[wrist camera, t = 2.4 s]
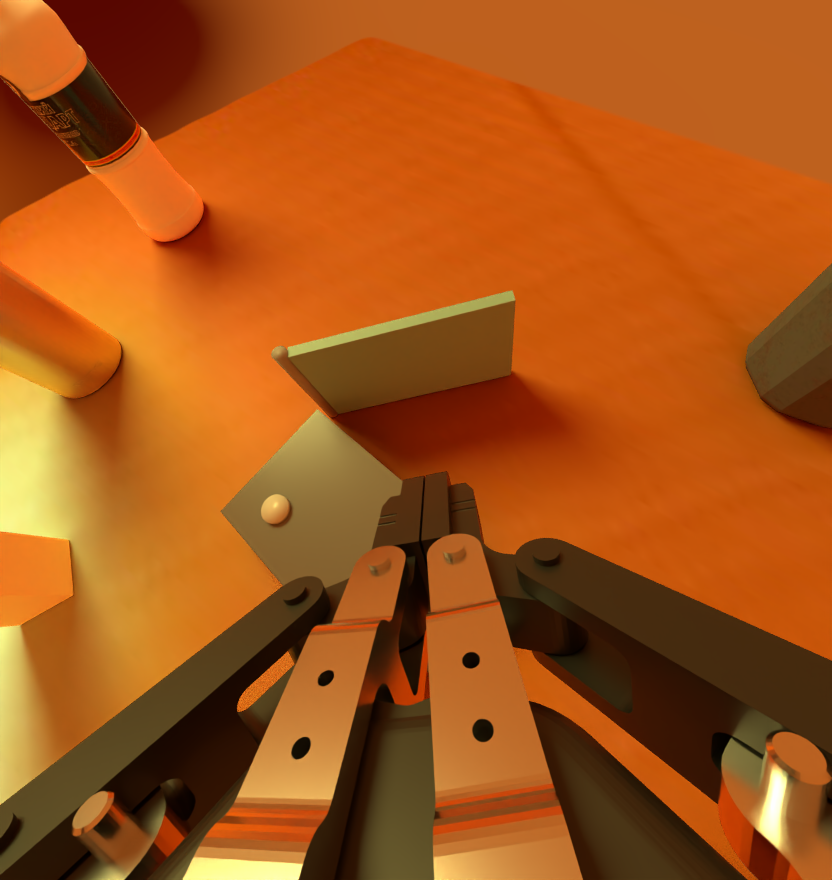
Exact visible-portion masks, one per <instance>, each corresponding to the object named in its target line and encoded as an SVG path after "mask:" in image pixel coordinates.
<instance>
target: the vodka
mask: <svg viewBox="0 0 832 880" xmlns="http://www.w3.org/2000/svg"><path fill="white" fill-rule="evenodd" d="M0 77H1V78H2V79H3V80H4V81H5V82H6V83H7V84H8V85H9V87H10V88H11V89H12V90H13V91H14V92H15V93H16V94H17V95H18V96H19V97H20V98H21V99H22V100H23V101H24V102H25V103H26V104H27V105H28V106H29V107H30V108H31V109H32V110H33V111H34V112H35V113H36V114H37V115H38V116H39V117H40V118H41V119H42V121H43V122H44V123H45V124H46V125H47V126H48V127H49V128H50V129H51V130H52V131H53V132H54V133H55V134H56V135H57V136H58V137H59V138H60V139H61V140H62V141H63V142H64V143H65V144H66V145H67V146H68V147H69V148H70V150H71V151H73V153H74V154H75V155H76V156H77V157H78V158H79V159H80V160H81V161H82V162H83V163H84V164H85V165H86V167H87V169H88V170H89V172H90V173H92V174H94V175H95V176H96V177H97V178H98V179H99V180H100V181H101V182H102V183H103V184H104V185H105V186H106V187H107V188H108V189H109V190H110V191H111V192H112V193H113V194H114V195H115V196H116V197H117V199H118V200H119V201H120V202H121V203H122V204H123V205H124V206H125V207H126V209H127V210H128V211H129V213H130V214H131V215H132V216H133V218H134V219H135V221H136V222H137V224H138V226H139V227H140V228H141V229H142V230H143V231H144V232H145V233H146V234H147V236H149V237H150V238H152V239H154V240H156V241H160V242H167V241H174V240H177V239H180V238H182V237H184V236H185V235H187V234H189V233H190V232H191V231H192V230H193V229H194V228H195V227H196V226H197V225H198V223H199V222H200V220H201V218H202V215H203V211H204V206H203V202H202V199H201V197H200V196H199V195H198V193H197V192H196V191H195V190H194V188H193V187H192V186H191V185H189V184H188V183H187V182H186V181H185V180H184V179H183V178H182V177H181V176H180V175H179V174H178V173H177V172H176V171H175V170H174V169H173V168H172V166H171V165H170V164H169V163H168V161H167V160H166V159H165V158H164V156H163V155H162V154H161V153H160V151H159V150H158V149H157V147H156V146H155V145H154V143H153V142H152V140H151V139H150V138H149V136H148V133H147V132H146V131H145V130H144V129H143V128H142V127H140V126H139V124H138V123H137V122H136V121H135V119H134V118H133V117H132V115H131V114H130V113H129V112H128V110H127V109H126V108H125V106H124V105H123V104H122V103H121V101H120V100H119V99H118V97H117V96H116V95H115V93H114V92H113V91H112V89H111V88H110V87H109V86H108V85H107V83H106V82H105V80H104V79H103V78H102V76H101V75H100V74H99V73H98V71H97V70H96V69H95V67H94V66H93V65H92V63H91V62H90V61H89V60H88V58H87V57H86V54H85V52H84V50H83V49H82V47H81V46H79V45H77V43H76V42H75V40H74V39H73V37H72V36H71V34H70V33H69V31H68V30H67V28H66V27H65V25H64V24H63V22H62V21H61V20H60V18H59V17H58V16H57V14H56V13H55V12H54V11H53V10H52V9H51V8H49V6H48V5H46V4H45V3H44V2H43V1H42V0H0Z"/></svg>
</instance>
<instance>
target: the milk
mask: <svg viewBox="0 0 832 880" xmlns="http://www.w3.org/2000/svg"><path fill="white" fill-rule="evenodd" d="M73 595H74V593H73V581H72V570H71V558H70V546H69V540H67V539H59V538H50V537H42V536H34V535H25V534H17V533H9V532H0V627H6V626H19V625H22V624H23V623H25V622H27V621H29V620H30V619H32V618H34V617H36V616H37V615H39V614H41V613H43V612H45V611H46V610H48V609H50V608H52V607H53V606H55V605H57V604H59V603H60V602H62V601H64V600H66V599H68V598H69V597H71V596H73Z"/></svg>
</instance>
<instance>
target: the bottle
mask: <svg viewBox="0 0 832 880" xmlns="http://www.w3.org/2000/svg"><path fill="white" fill-rule="evenodd" d="M746 369H747V371H748V373H749V375H750V377H751V379H752V381H753V383H754V385H755V387H756V389H757V392H758V394H759V396H760V398H761V399H762V400H763V401H765V402H766V403H767V404H768V405H770V406H771V407H772V408H773V409H775V410H776V411H777V412H780V413H783V414H786V415H789V416H791V417H794V418H797V419H800V420H803V421H806V422H809V423H812V424H815V425H818V426H821V427H827V428H832V264H831V265H830V266H829V267H828V268H827V269H826V270H825V271H823V272H822V273H821V274H820V275H819V276H818V277H817V278H816V279H815V280H814V281H813V282H812V283H811V284H810V285H809V286H808V287H807V288H806V289H805V290H804V291H803V292H802V293H801V294H800V295H799V296H798V297H797V298H796V299H795V300H794V301H793V302H792V303H791V304H790V305H789V306H788V307H787V308H786V309H785V310H784V311H783V312H782V313H781V314H780V315H779V316H778V317H777V318H776V319H775V320H774V321H773V322H772V323H771V324H770V325H769V326H768V327H767V328H766V329H765V330H764V331H763V332H762V333H761V334H759V335H758V336H757V337H756V338H755V339H754V340H753V341H752V342H751V343H750V344H749V345H748V350H747V356H746Z"/></svg>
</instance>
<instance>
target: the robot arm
mask: <svg viewBox="0 0 832 880" xmlns="http://www.w3.org/2000/svg"><path fill="white" fill-rule="evenodd" d="M120 359H121V345H120V343H119V341H118V340H117V339H116V338H115V337H113V336H112V335H110V334H109V333H107V332H106V331H104V330H103V329H101V328H100V327H98V326H97V325H95V324H94V323H92V322H90V321H89V320H87V319H86V318H85V317H83V316H82V315H80V314H79V313H77V312H76V311H74V310H73V309H71V308H70V307H68V306H67V305H65V304H63V303H62V302H60V301H59V300H57V299H56V298H54V297H53V296H51V295H50V294H48V293H47V292H45V291H44V290H42V289H41V288H39V287H38V286H36V285H35V284H33V283H32V282H30V281H29V280H27V279H26V278H24V277H23V276H21V275H20V274H18V273H17V272H15V271H14V270H12V269H11V268H9V267H8V266H6V265H5V264H3V263H2V262H0V368H3V369H5V370H7V371H9V372H11V373H14V374H16V375H18V376H20V377H22V378H25V379H27V380H29V381H31V382H33V383H35V384H38V385H40V386H42V387H44V388H47V389H49V390H51V391H53V392H55V393H58V394H60V395H62V396H64V397H68V398H81V397H84V396H87V395H89V394H91V393H93V392H95V391H96V390H98V389H99V388H100V387H102V386H103V385H104V384H105V383H106V382H107V381H108V380H109V379H110V378H111V376H112V375H113V374H114V372H115V370H116V369H117V367H118V365H119V362H120ZM428 612H430V613H428ZM513 647H516V648H521V649H527V650H532V653H533V655H534V657H535V658H536V659H537V661H538V662H539V663H540V664H542V665H543V666H544V667H545V668H547V669H548V670H549V671H550V672H552V673H553V674H554V675H555V676H557V677H558V678H559V679H560V680H562V681H563V682H564V683H565V684H567V685H568V686H569V687H571V688H572V689H573V690H574V691H576V692H577V693H578V694H579V695H581V696H582V697H583V698H584V699H586V700H587V701H588V702H589V703H591V704H592V705H593V706H594V707H596V708H597V709H598V710H600V711H601V712H602V713H603V714H605V715H606V716H607V717H608V718H610V719H611V720H612V721H613V722H615V723H616V724H617V725H618V726H620V727H621V728H622V729H624V730H625V731H626V732H627V733H629V734H630V735H631V736H632V737H634V738H635V739H636V740H637V741H639V742H640V743H641V744H642V745H644V746H645V747H646V748H647V749H649V750H650V751H651V752H653V753H654V754H655V755H656V756H658V757H659V758H660V759H661V760H663V761H664V762H665V763H666V764H668V765H669V766H670V767H671V768H673V769H674V770H675V771H677V772H678V773H679V774H680V775H682V776H683V777H684V778H685V779H687V780H688V781H689V782H690V783H692V784H693V785H694V786H695V787H697V788H698V789H699V790H700V791H702V792H703V793H704V794H706V795H707V796H708V797H709V798H711V799H712V800H713V801H714V802H716V803H717V804H718V811H719V818H720V822H721V826H722V828H723V831H724V833H725V836H726V838H727V840H728V841H729V843H730V845H731V847H732V849H733V850H734V852H735V853H736V855H737V856H738V858H739V859H740V860H741V861H742V863H743V864H744V865H745V866H746V867H747V869H748V870H749V871H750V872H751V873H752V874H753V875H754V876H755V877H756V878H757V879H758V880H832V661H831V660H829V659H827V658H824V657H822V656H820V655H818V654H815V653H813V652H811V651H809V650H806V649H804V648H802V647H800V646H797V645H795V644H793V643H791V642H788V641H786V640H784V639H782V638H780V637H777V636H775V635H773V634H771V633H768V632H766V631H764V630H762V629H759V628H757V627H755V626H753V625H750V624H748V623H746V622H744V621H741V620H739V619H737V618H735V617H733V616H730V615H728V614H726V613H724V612H721V611H719V610H717V609H715V608H712V607H710V606H708V605H706V604H703V603H701V602H699V601H697V600H695V599H692V598H690V597H688V596H686V595H683V594H681V593H679V592H677V591H674V590H672V589H670V588H668V587H665V586H663V585H661V584H659V583H656V582H654V581H652V580H650V579H648V578H645V577H643V576H641V575H639V574H636V573H634V572H632V571H630V570H627V569H625V568H623V567H621V566H618V565H616V564H614V563H612V562H609V561H607V560H605V559H603V558H601V557H598V556H596V555H594V554H592V553H589V552H587V551H585V550H583V549H580V548H578V547H576V546H574V545H571V544H569V543H567V542H565V541H562V540H558V539H553V538H540V539H535V540H532V541H529V542H527V543H525V544H524V545H522V546H521V547H520V548H519V549H518V550H517V552H516V554H515V555H513V554H503V553H499V552H496V551H493V550H491V549H489V548H488V547H487V546H486V545H485V544H484V540H483V534H482V528H481V524H480V519H479V515H478V510H477V505H476V501H475V496H474V492H473V489H472V488H471V487H470V486H469V485H467V484H466V483H461V484H455V485H451V483H450V479H449V475H448V472H447V471H446V472H441V473H435V474H430V475H426V477H425V476H420V477H415V478H410V479H405V480H403V482H402V488H401V493H400V495H398V496H393V497H390V498H389V499H388V500H387V502H386V503H385V504H384V505H383V506H382V510H381V514H380V518H379V522H378V526H377V530H376V534H375V538H374V542H373V545H372V549H371V550H370V551H368V552H367V553H365V554H364V555H363V556H361V557H360V558H359V559H358V561H357V562H356V564H355V566H354V568H353V571H352V573H351V576H350V578H348V579H346V580H344V581H342V582H339V583H337V584H334V585H332V586H329V587H327V588H325V587H324V585H323V582H322V581H321V580H320V579H319V578H317V577H314V576H304V577H300V578H297V579H295V580H292V581H290V582H289V583H287V584H285V585H284V586H283V587H281V588H280V589H279V590H277V591H276V592H275V593H273V594H272V595H271V596H270V597H268V598H267V599H266V600H264V601H263V602H262V603H261V604H259V605H258V606H257V607H255V608H254V609H253V610H251V611H250V612H249V613H248V614H246V615H245V616H244V617H242V618H241V619H240V620H239V621H237V622H236V623H235V624H233V625H232V626H231V627H230V628H228V629H227V630H226V631H224V632H223V633H222V634H221V635H219V636H218V637H217V638H215V639H214V640H213V641H211V642H210V643H209V644H208V645H206V646H205V647H204V648H202V649H201V650H200V651H199V652H197V653H196V654H195V655H193V656H192V657H191V658H190V659H188V660H187V661H186V662H184V663H183V664H182V665H181V666H179V667H178V668H177V669H175V670H174V671H173V672H171V673H170V674H169V675H168V676H166V677H165V678H164V679H162V680H161V681H160V682H159V683H157V684H156V685H155V686H153V687H152V688H151V689H150V690H148V691H147V692H146V693H144V694H143V695H142V696H140V697H139V698H138V699H137V700H135V701H134V702H133V703H131V704H130V705H129V706H128V707H126V708H125V709H124V710H122V711H121V712H120V713H119V714H117V715H116V716H115V717H113V718H112V719H111V720H110V721H108V722H107V723H106V724H104V725H103V726H102V727H100V728H99V729H98V730H97V731H95V732H94V733H93V734H91V735H90V736H89V737H88V738H86V739H85V740H84V741H82V742H81V743H80V744H79V745H77V746H76V747H75V748H73V749H72V750H71V751H70V752H68V753H67V754H66V755H64V756H63V757H62V758H60V759H59V760H58V761H57V762H55V763H54V764H53V765H51V766H50V767H49V768H48V769H46V770H45V771H44V772H42V773H41V774H40V775H39V776H37V777H36V778H35V779H33V780H32V781H31V782H29V783H28V784H27V785H26V786H24V787H23V788H22V789H20V790H19V791H18V792H17V793H15V794H14V795H13V796H11V797H10V798H9V799H8V800H6V801H5V802H4V803H2V804H1V805H0V880H747V879H746V878H745V877H744V876H743V875H742V874H741V873H739V872H738V871H737V870H736V869H735V868H734V867H733V866H732V865H731V864H730V863H729V862H727V861H726V860H725V859H724V858H723V857H722V856H721V855H720V854H719V853H718V852H717V851H716V850H714V849H713V848H712V847H711V846H710V845H709V844H708V843H707V842H706V841H705V840H704V839H702V838H701V837H700V836H699V835H698V834H697V833H696V832H695V831H694V830H693V829H692V828H691V827H689V826H688V825H687V824H686V823H685V822H684V821H683V820H682V819H681V818H680V817H679V816H677V815H676V814H675V813H674V812H673V811H672V810H671V809H670V808H669V807H668V806H667V805H666V804H664V803H663V802H662V801H661V800H660V799H659V798H658V797H657V796H656V795H655V794H654V793H652V792H651V791H650V790H649V789H648V788H647V787H646V786H645V785H644V784H643V783H642V782H641V781H639V780H638V779H637V778H636V777H635V776H634V775H633V774H632V773H631V772H630V771H629V770H627V769H626V768H625V767H624V766H623V765H622V764H621V763H620V762H619V761H618V760H617V759H616V758H614V757H613V756H612V755H611V754H610V753H609V752H608V751H607V750H606V749H605V748H604V747H602V746H601V745H600V744H599V743H598V742H597V741H596V740H595V739H594V738H593V737H592V736H591V735H589V734H588V733H587V732H586V731H585V730H584V729H582V728H581V727H580V726H578V725H577V724H576V723H574V722H573V721H572V720H570V719H569V718H567V717H565V716H564V715H562V714H560V713H558V712H557V711H555V710H553V709H550V708H548V707H546V706H543V705H541V704H538V703H534V702H531V701H528V697H527V694H526V691H525V687H524V684H523V680H522V677H521V674H520V670H519V667H518V663H517V660H516V657H515V653H514V650H513ZM287 651H288V652H289V654H290V656H291V658H292V660H293V662H294V663H295V665H294V666H293V667H292V668H290V669H289V670H288V671H287V672H286V673H285V674H284V675H283V676H282V677H281V678H280V679H279V680H278V681H277V682H276V683H275V684H274V685H273V686H272V687H270V688H269V689H268V690H267V691H266V692H265V693H264V694H263V695H262V696H261V697H260V698H259V699H258V700H257V701H256V702H255V703H254V704H253V705H251V706H250V707H249V708H248V709H246V710H244V711H242V712H237V704H238V701H239V698H240V696H241V695H242V693H243V692H244V691H245V690H246V689H247V688H248V687H249V686H250V685H251V684H252V683H253V682H254V681H255V680H256V679H258V678H259V677H260V676H261V675H262V674H263V673H264V672H265V671H266V670H267V669H269V668H270V667H271V666H272V665H273V664H274V663H275V662H276V661H277V660H278V659H280V658H281V657H282V656H283V655H284V654H285V653H286V652H287ZM427 665H428V667H429V686H430V698H428V699H426V700H424V693H425V683H426V674H427Z"/></svg>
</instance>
